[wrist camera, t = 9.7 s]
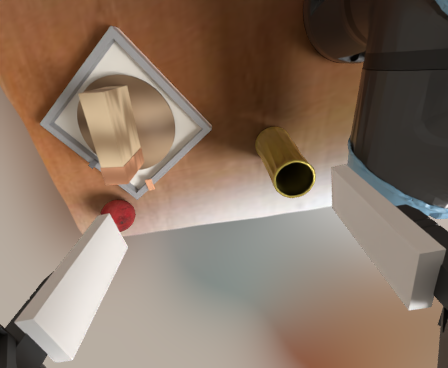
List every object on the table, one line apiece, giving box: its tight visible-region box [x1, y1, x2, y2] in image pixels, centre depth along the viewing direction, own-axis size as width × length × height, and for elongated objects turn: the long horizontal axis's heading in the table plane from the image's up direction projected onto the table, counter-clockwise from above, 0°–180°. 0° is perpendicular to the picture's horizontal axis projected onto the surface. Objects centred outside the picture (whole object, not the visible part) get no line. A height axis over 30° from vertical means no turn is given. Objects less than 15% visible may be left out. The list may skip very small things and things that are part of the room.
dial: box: [77, 74, 175, 185], centre depth 35 cm, size 15×15×9 cm
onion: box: [101, 200, 136, 232], centre depth 44 cm, size 6×6×8 cm
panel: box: [40, 26, 212, 200], centre depth 39 cm, size 19×20×3 cm
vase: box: [255, 127, 316, 198], centre depth 36 cm, size 6×6×14 cm
